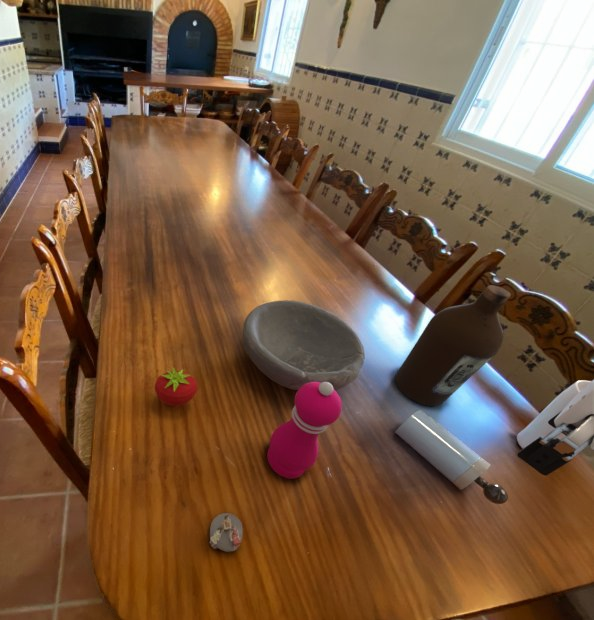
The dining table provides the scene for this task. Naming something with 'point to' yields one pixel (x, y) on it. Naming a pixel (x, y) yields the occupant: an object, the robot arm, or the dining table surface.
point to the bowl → (302, 345)
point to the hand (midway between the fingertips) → (546, 446)
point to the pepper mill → (303, 429)
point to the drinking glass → (549, 416)
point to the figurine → (226, 532)
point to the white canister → (448, 454)
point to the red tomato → (175, 387)
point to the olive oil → (453, 348)
